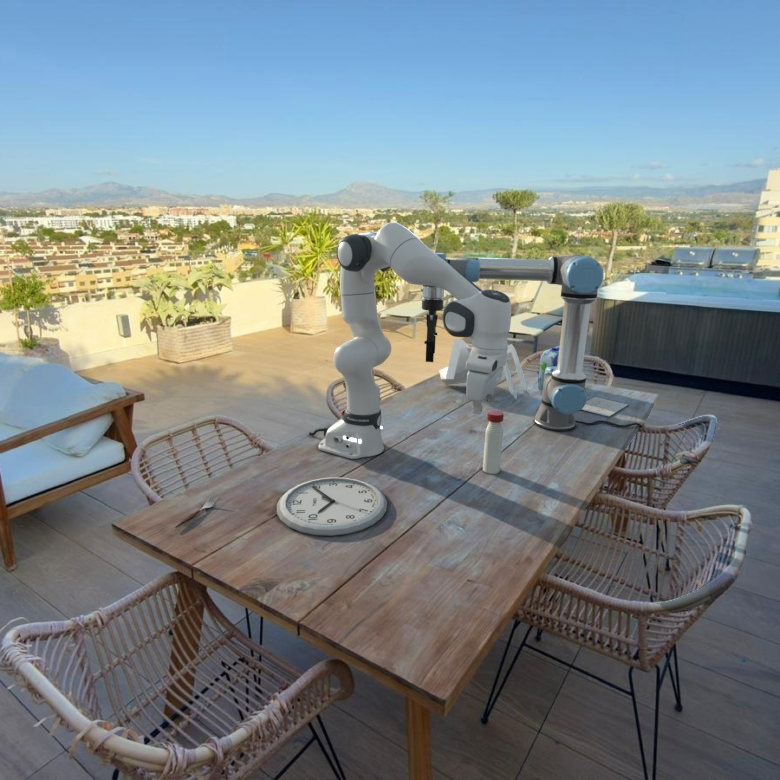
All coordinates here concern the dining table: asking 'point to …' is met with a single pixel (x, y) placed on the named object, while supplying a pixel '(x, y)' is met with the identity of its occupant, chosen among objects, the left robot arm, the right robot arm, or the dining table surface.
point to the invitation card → (603, 406)
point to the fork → (206, 505)
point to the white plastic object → (459, 372)
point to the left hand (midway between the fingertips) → (483, 406)
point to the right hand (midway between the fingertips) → (430, 357)
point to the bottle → (493, 448)
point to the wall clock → (331, 506)
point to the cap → (495, 416)
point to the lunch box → (547, 363)
